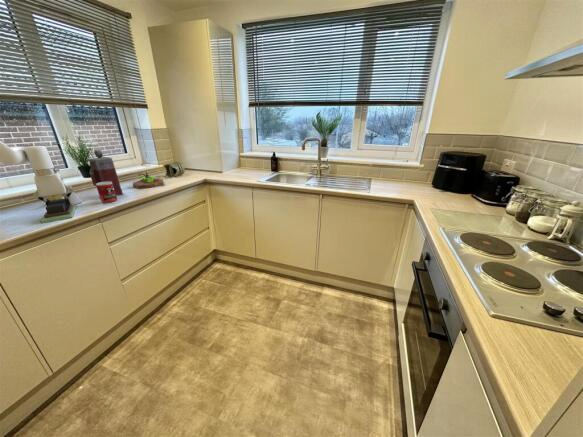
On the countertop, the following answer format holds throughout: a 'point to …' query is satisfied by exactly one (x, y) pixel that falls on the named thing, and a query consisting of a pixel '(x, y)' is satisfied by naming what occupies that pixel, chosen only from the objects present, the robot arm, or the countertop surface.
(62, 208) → the black square block
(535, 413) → the countertop surface
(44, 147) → the robot arm
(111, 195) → the canned food
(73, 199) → the flask
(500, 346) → the countertop surface
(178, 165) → the piston
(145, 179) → the plant
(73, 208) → the joiner board
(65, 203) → the black pad
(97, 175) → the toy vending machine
